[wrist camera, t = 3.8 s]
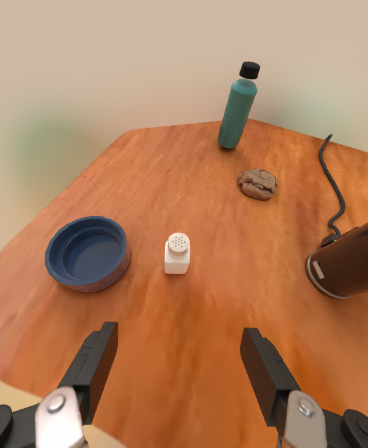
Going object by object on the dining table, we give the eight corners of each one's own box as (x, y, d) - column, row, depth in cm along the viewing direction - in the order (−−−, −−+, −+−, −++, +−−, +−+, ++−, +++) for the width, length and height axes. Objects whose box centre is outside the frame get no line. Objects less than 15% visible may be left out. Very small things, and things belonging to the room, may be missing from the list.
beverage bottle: (240, 150, 55) (273, 68, 38) (222, 154, 53) (248, 70, 36) (229, 138, 58) (256, 57, 41) (211, 142, 56) (231, 58, 39)
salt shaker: (164, 274, 33) (164, 254, 25) (165, 254, 35) (165, 229, 27) (186, 275, 33) (192, 255, 25) (186, 254, 35) (192, 230, 27)
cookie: (282, 187, 48) (289, 179, 45) (260, 207, 44) (266, 199, 41) (252, 167, 51) (257, 158, 49) (229, 183, 47) (232, 174, 44)
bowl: (99, 220, 38) (91, 205, 34) (144, 251, 35) (141, 239, 31) (45, 265, 32) (27, 255, 28) (94, 308, 29) (82, 303, 25)
